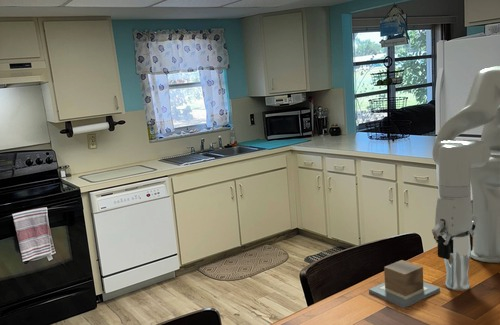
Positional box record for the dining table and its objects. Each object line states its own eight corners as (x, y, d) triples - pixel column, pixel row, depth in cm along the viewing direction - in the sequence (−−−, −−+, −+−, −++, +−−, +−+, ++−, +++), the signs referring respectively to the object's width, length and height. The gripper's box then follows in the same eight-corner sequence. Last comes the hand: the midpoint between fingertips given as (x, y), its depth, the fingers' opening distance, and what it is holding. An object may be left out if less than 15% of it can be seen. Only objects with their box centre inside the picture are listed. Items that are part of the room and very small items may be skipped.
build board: (403, 277, 134) (403, 274, 134) (439, 291, 124) (439, 287, 124) (369, 292, 127) (368, 288, 127) (404, 308, 117) (403, 304, 117)
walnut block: (402, 280, 130) (401, 259, 129) (423, 288, 124) (422, 266, 123) (385, 287, 127) (384, 266, 126) (405, 296, 121) (404, 274, 120)
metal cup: (474, 291, 122) (473, 237, 120) (446, 291, 123) (444, 237, 121) (467, 280, 129) (466, 228, 126) (441, 280, 130) (439, 229, 128)
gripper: (462, 184, 129) (462, 243, 132) (420, 194, 120) (422, 257, 123) (487, 187, 123) (487, 249, 125) (446, 199, 114) (447, 265, 116)
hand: (455, 253), depth 124 cm, fingers open, 9 cm apart
